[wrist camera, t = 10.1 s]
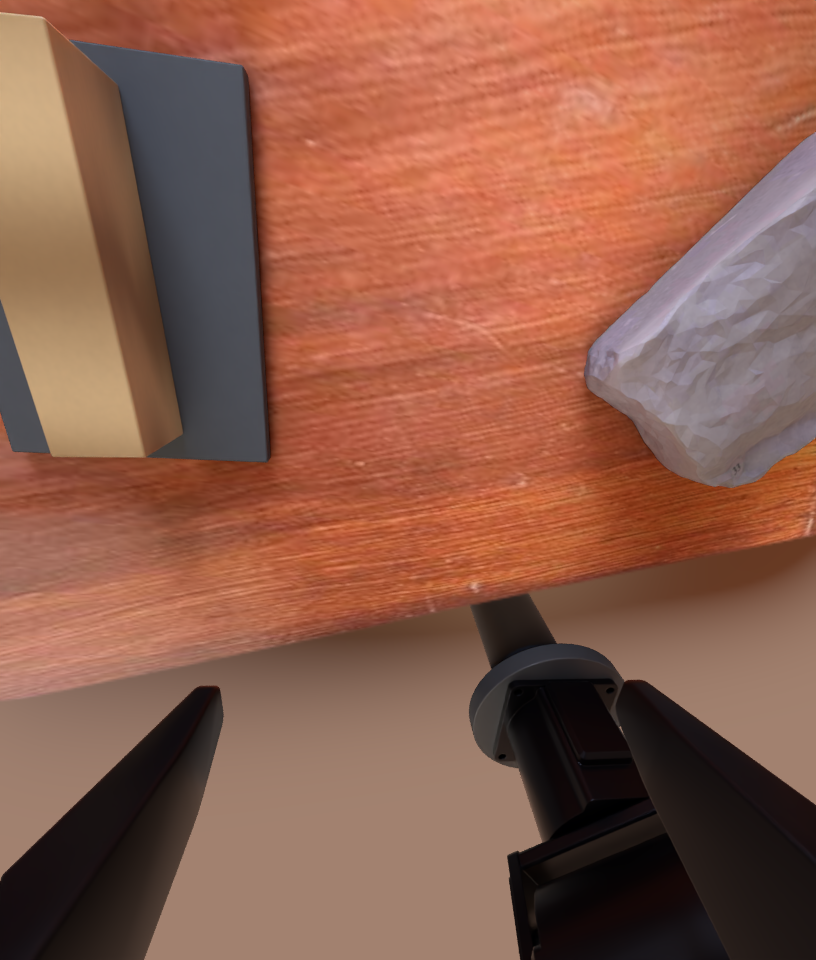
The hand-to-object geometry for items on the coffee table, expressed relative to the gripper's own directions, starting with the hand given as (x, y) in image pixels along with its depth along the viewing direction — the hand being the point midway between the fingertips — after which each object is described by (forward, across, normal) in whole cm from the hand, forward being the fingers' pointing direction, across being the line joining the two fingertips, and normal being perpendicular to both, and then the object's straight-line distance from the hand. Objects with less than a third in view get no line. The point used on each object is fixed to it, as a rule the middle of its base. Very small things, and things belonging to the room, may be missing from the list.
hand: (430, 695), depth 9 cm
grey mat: (+11, +11, -8) cm, 17 cm away
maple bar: (+10, +11, -8) cm, 17 cm away
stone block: (+11, -14, -8) cm, 20 cm away
